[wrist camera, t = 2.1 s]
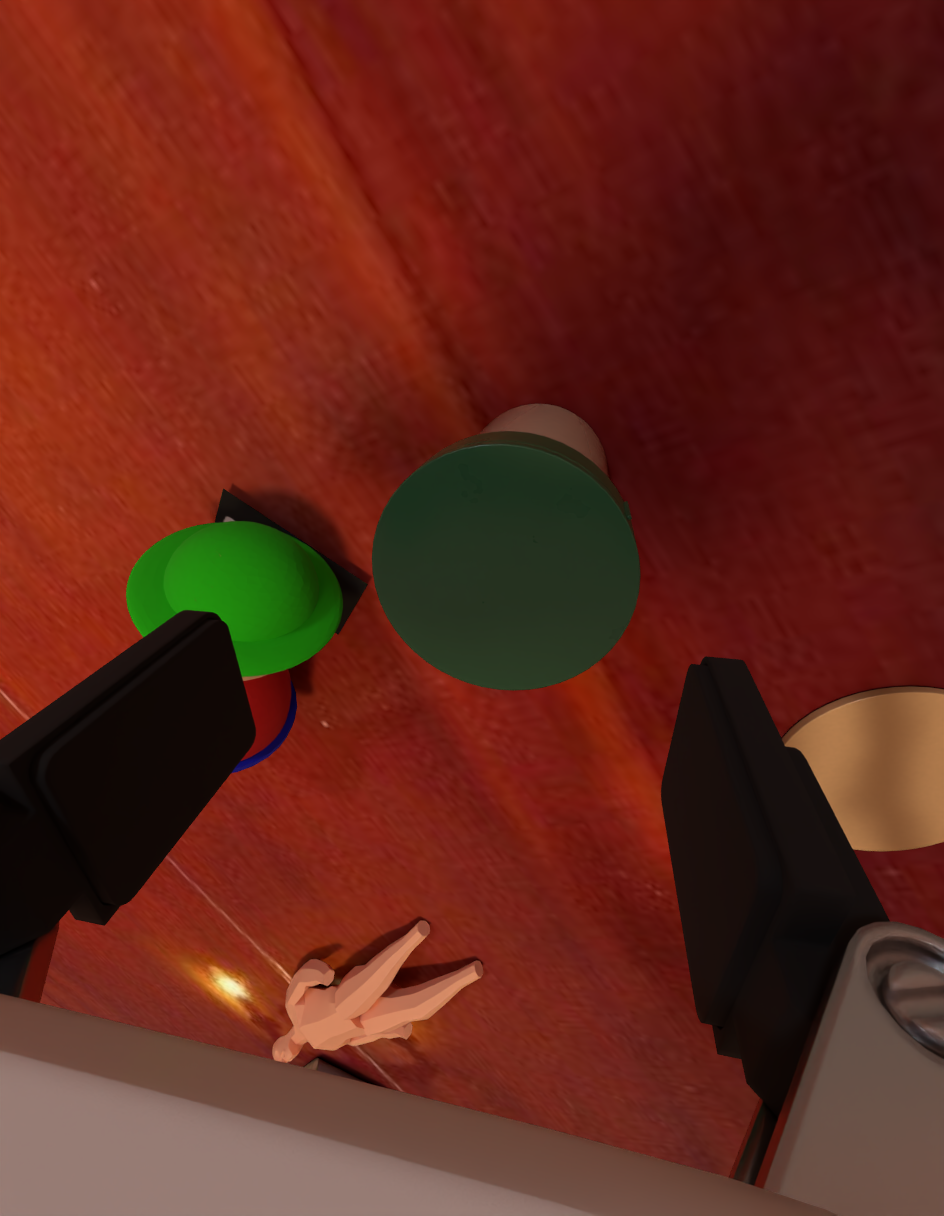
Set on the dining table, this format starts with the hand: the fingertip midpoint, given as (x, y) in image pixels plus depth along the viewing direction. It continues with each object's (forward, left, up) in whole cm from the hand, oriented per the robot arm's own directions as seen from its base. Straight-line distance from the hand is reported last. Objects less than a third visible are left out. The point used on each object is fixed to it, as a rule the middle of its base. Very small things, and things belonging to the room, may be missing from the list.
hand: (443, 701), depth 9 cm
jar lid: (0, 0, -5) cm, 5 cm away
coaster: (-9, +22, -16) cm, 29 cm away
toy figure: (+17, 0, -16) cm, 23 cm away
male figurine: (+35, +34, -16) cm, 51 cm away
